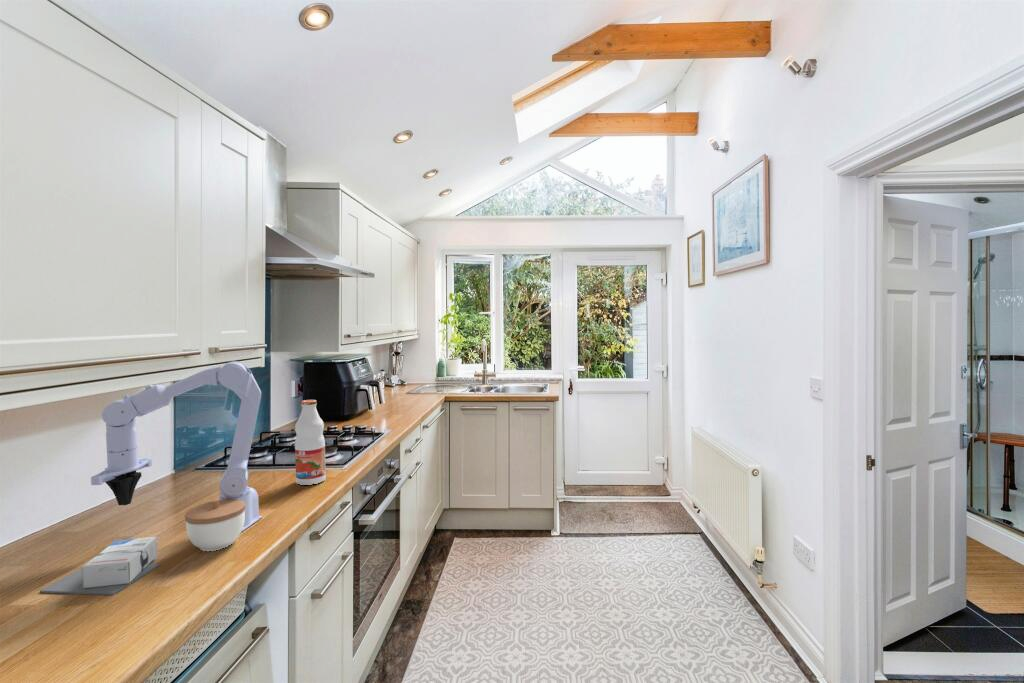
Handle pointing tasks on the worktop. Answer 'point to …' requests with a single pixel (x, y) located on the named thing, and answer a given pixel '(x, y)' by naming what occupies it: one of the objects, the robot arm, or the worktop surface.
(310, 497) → the worktop surface
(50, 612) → the worktop surface
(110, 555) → the ink box
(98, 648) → the worktop surface
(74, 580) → the mat
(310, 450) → the fruit juice
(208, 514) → the lidded bowl
